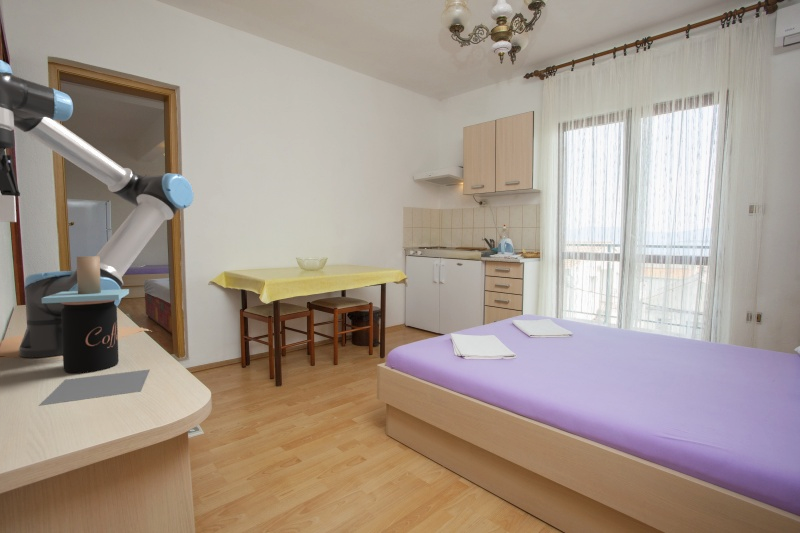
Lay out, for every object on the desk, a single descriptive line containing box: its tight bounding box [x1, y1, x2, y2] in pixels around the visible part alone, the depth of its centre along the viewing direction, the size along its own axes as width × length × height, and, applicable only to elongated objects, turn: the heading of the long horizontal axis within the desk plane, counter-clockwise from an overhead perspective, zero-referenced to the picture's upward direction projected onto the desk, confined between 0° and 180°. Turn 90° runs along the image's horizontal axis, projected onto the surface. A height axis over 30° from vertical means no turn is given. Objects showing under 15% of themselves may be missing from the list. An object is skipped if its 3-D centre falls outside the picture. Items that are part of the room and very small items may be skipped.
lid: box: [42, 255, 130, 303], centre depth 95 cm, size 14×14×10 cm
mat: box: [38, 369, 151, 407], centre depth 83 cm, size 16×16×1 cm
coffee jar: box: [61, 300, 120, 375], centre depth 95 cm, size 11×11×18 cm
